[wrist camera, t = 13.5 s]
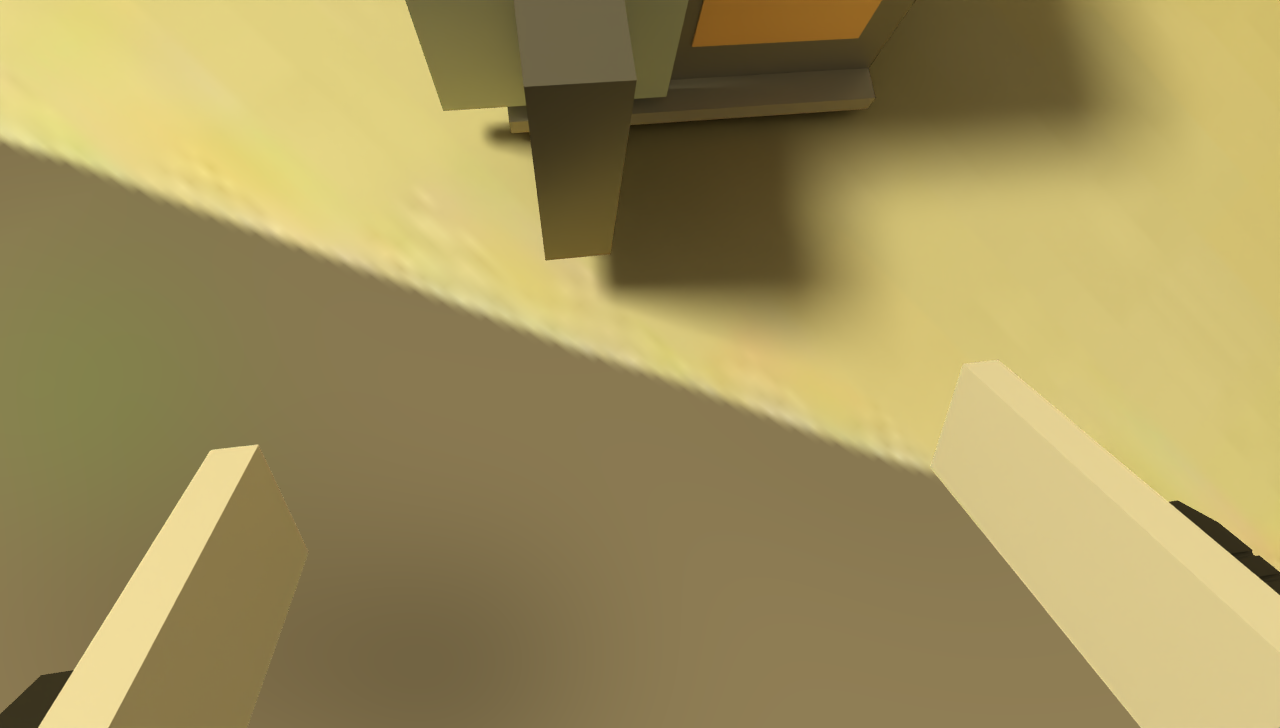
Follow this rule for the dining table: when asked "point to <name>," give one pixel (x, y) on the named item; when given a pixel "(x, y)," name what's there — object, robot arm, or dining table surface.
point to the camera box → (768, 60)
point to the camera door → (558, 91)
